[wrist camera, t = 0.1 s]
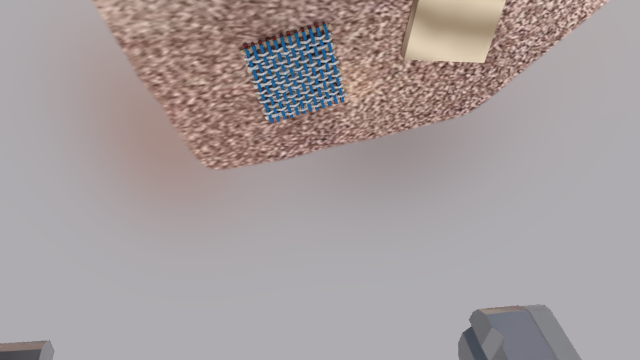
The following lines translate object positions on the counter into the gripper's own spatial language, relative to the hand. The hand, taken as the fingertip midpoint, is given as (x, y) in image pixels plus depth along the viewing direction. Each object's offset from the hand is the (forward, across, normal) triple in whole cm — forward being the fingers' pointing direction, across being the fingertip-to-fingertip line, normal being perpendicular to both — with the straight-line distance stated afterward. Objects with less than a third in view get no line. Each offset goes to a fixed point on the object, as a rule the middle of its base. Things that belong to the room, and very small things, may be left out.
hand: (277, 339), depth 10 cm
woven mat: (+49, -9, +19) cm, 53 cm away
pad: (+48, -26, +11) cm, 56 cm away
